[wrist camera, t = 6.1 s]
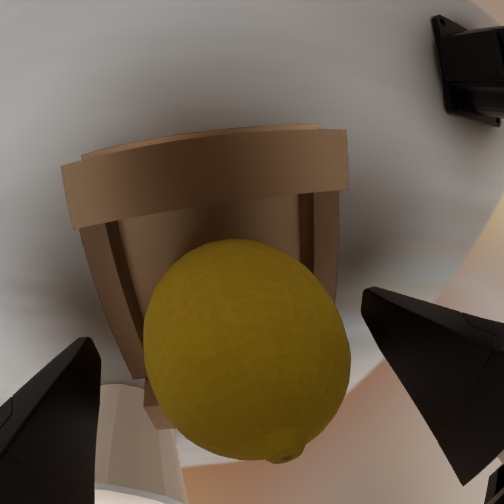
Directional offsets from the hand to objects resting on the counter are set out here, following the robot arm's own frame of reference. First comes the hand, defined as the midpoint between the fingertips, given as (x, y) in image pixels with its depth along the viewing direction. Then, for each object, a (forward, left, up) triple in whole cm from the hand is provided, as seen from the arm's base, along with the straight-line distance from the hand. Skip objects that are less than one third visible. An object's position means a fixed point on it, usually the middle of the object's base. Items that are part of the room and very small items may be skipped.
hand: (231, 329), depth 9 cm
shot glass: (+7, +9, -5) cm, 13 cm away
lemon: (0, 0, -4) cm, 4 cm away
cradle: (0, 0, -4) cm, 4 cm away
